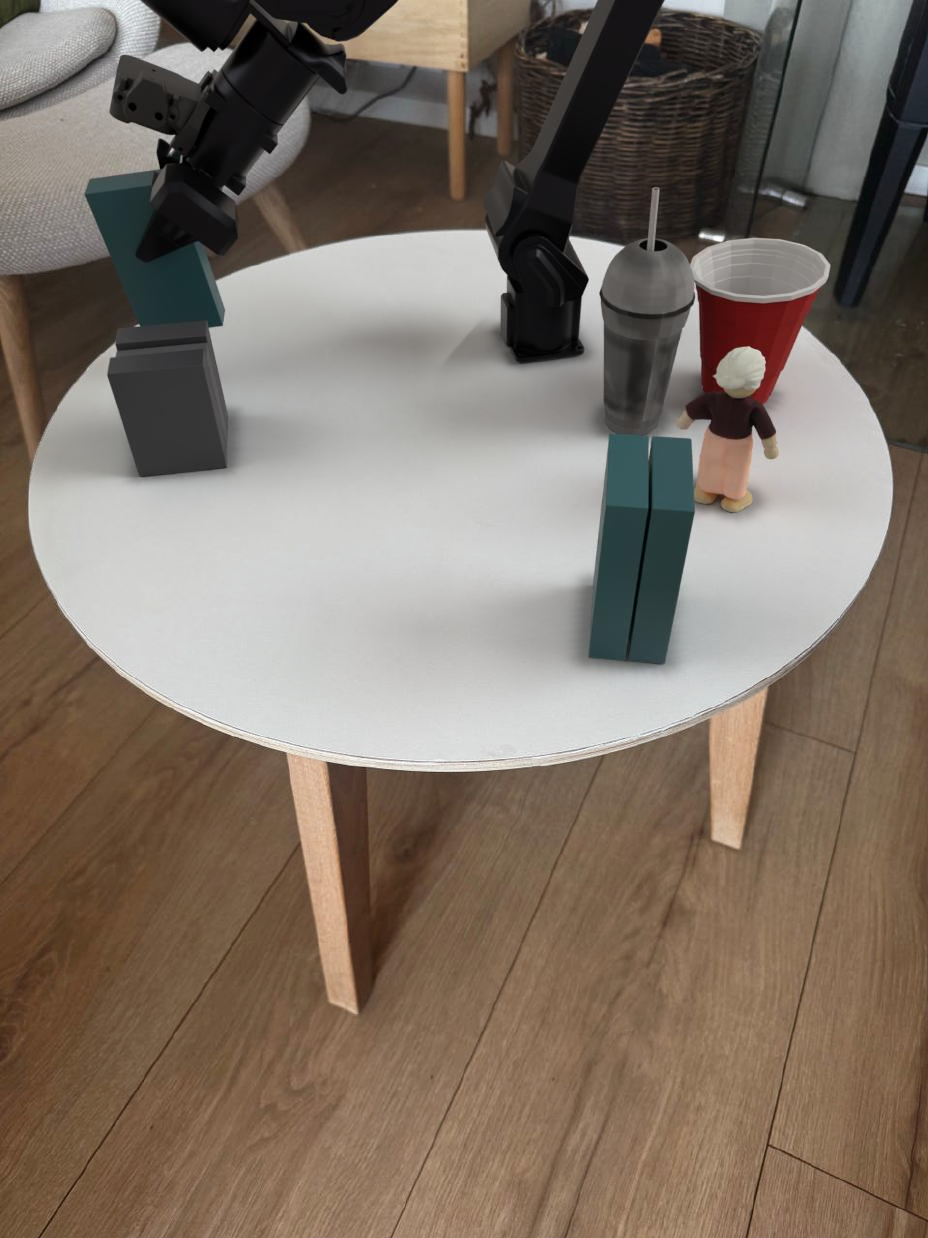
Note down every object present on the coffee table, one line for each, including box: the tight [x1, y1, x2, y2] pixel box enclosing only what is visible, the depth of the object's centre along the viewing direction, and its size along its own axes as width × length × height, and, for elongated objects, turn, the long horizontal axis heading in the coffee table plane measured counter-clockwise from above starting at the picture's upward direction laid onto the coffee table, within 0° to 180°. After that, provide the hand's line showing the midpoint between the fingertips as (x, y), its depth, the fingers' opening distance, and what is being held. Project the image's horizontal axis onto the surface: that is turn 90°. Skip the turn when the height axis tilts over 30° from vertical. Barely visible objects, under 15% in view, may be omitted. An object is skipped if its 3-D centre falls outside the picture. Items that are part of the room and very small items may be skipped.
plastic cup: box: [689, 237, 831, 406], centre depth 82 cm, size 11×11×12 cm
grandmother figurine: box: [676, 347, 780, 513], centre depth 72 cm, size 8×4×13 cm, turn 71°
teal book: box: [84, 168, 226, 329], centre depth 82 cm, size 7×2×13 cm, turn 93°
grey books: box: [106, 320, 229, 478], centre depth 79 cm, size 7×8×10 cm
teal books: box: [588, 432, 696, 665], centre depth 63 cm, size 7×5×13 cm
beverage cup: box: [598, 187, 696, 436], centre depth 77 cm, size 7×7×20 cm
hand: (141, 250), depth 81 cm, fingers closed on teal book, 3 cm apart
